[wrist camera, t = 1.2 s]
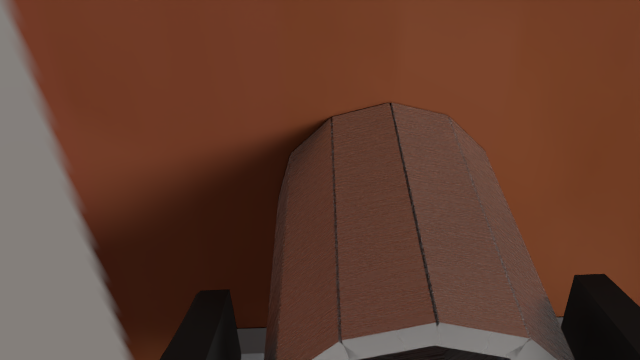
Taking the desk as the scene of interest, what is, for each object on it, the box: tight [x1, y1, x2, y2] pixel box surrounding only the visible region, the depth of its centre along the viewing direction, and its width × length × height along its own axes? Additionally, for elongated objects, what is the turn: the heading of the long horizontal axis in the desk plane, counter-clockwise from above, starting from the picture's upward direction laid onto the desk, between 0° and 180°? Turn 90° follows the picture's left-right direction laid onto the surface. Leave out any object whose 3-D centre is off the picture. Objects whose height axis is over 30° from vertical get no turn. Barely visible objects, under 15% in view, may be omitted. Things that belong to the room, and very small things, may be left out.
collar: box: [264, 103, 575, 360], centre depth 13 cm, size 6×6×7 cm
